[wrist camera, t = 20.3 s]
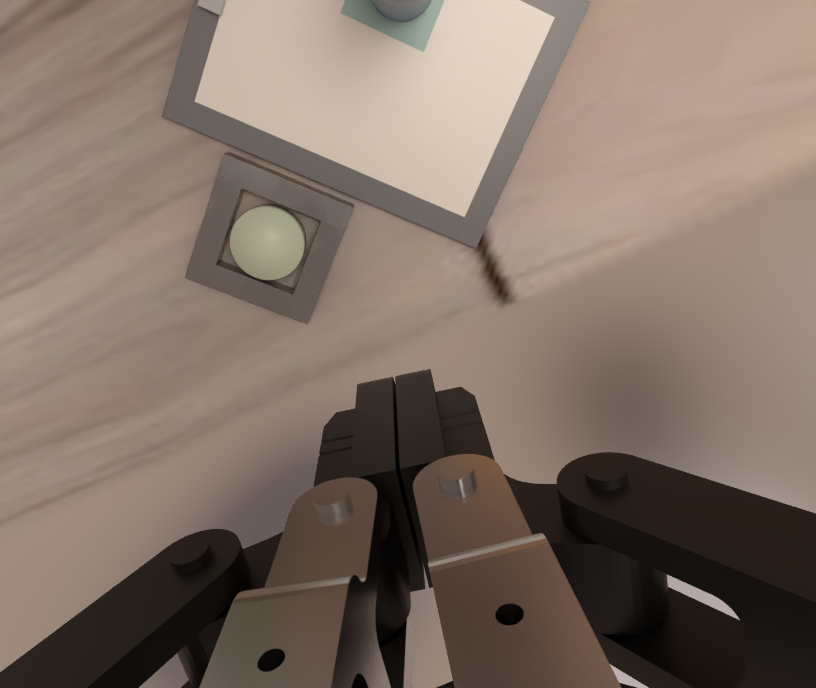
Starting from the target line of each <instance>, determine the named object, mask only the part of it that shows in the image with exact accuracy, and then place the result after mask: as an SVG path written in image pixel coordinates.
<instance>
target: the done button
mask: <svg viewBox="0 0 816 688" xmlns="http://www.w3.org/2000/svg"><path fill="white" fill-rule="evenodd" d="M305 248H306V235H305V231H304V228H303V226H302V224H301V222H300V221H299V220H298V218H297V217H296V216H295V215H294V214H293V213H292V212H290V211H289V210H287V209H285V208H283V207H281V206H278V205H273V204H263V205H258V206H255V207H253V208H251V209H249V210H248V211H247V212H245V213H244V214H243V215H242V216H241V217H240V218H239V219H238V220H237V221H236V222H235V224H234V226H233V228H232V231H231V234H230V249H231V252H232V255H233V257H234V259H235V261H236V263H237V264H238V265H239V267H240V268H241V269H242V270H244V271H245V272H246V273H248V274H249V275H251V276H253V277H255V278H258V279H263V280H275V279H280V278H283V277H285V276H287V275H288V274H290V273H291V272H292V271H293V270H294V269H295V268H296V267H297V266H298V264H299V263H300V261H301V259H302V257H303V254H304V252H305Z"/></svg>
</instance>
